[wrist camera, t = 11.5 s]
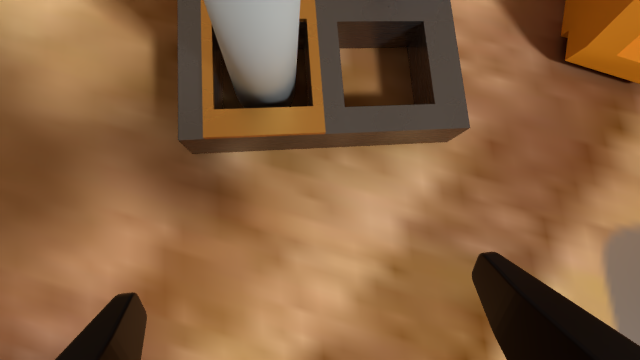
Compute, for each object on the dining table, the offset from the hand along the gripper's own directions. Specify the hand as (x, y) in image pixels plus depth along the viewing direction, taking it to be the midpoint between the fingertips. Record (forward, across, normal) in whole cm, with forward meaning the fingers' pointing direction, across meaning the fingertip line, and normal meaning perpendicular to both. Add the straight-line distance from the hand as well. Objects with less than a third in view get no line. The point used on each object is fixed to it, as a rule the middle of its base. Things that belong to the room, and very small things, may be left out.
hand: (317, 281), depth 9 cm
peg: (+17, +1, +1) cm, 17 cm away
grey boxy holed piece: (+17, -2, +1) cm, 17 cm away
